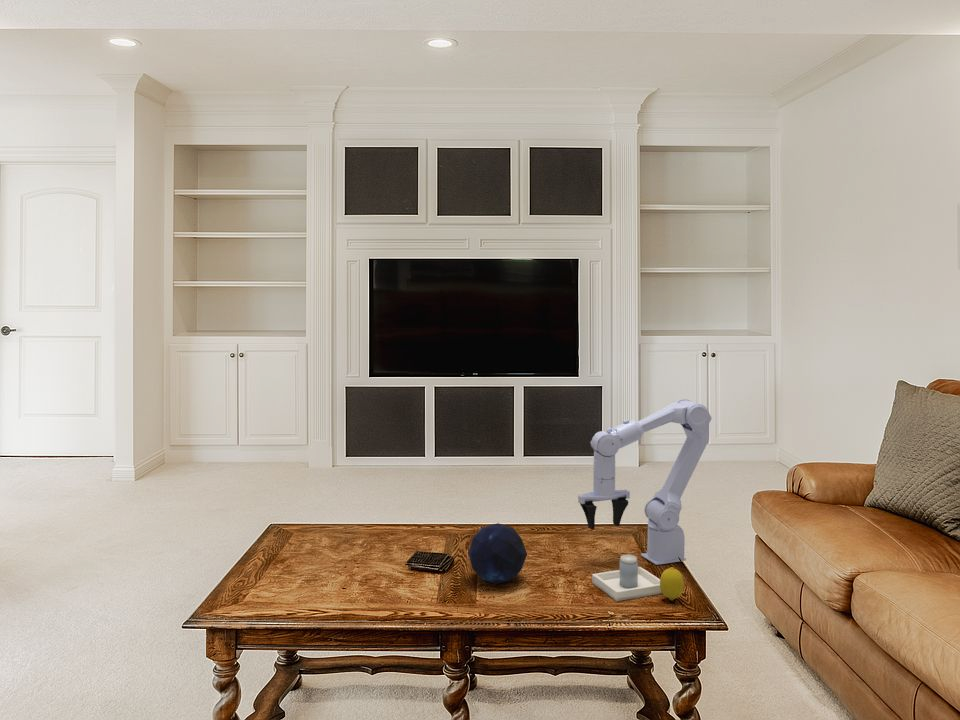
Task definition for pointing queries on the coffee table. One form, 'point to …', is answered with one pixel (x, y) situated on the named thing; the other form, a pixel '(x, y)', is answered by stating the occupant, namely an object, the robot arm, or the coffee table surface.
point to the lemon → (671, 583)
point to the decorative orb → (497, 553)
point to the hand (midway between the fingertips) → (603, 526)
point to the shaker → (628, 571)
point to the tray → (612, 587)
